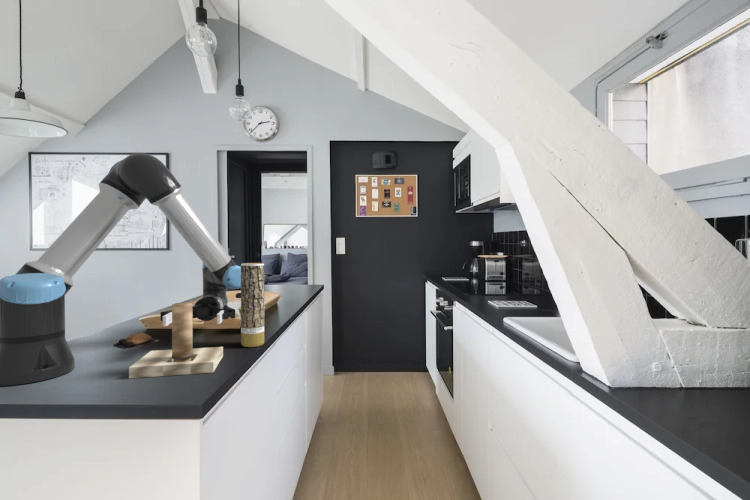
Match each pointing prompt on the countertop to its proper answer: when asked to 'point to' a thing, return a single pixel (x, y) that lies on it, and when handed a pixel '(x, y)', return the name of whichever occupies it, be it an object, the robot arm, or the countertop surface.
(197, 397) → the countertop surface
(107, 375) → the countertop surface
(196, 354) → the board
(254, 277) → the paper tube
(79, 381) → the countertop surface
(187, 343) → the peg
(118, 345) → the brown beetle
